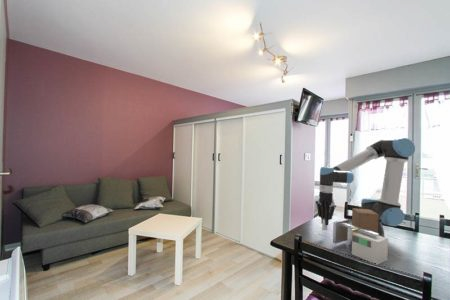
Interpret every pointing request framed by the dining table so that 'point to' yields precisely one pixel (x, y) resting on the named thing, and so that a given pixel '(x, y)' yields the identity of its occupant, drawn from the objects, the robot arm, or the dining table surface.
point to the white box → (370, 247)
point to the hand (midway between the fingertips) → (324, 229)
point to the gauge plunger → (342, 231)
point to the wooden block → (365, 219)
